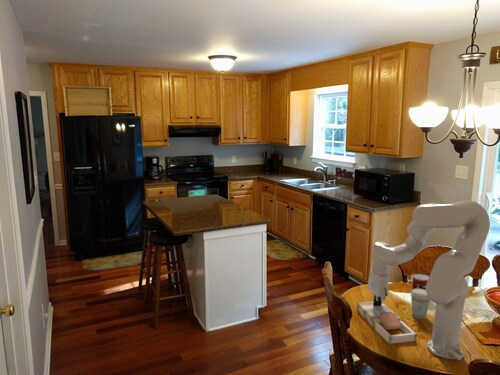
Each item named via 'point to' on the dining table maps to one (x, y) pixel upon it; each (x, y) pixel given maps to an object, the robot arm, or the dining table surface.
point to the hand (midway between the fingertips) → (377, 307)
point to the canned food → (419, 281)
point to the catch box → (398, 338)
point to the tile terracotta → (390, 321)
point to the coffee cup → (419, 303)
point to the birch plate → (370, 313)
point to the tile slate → (381, 310)
